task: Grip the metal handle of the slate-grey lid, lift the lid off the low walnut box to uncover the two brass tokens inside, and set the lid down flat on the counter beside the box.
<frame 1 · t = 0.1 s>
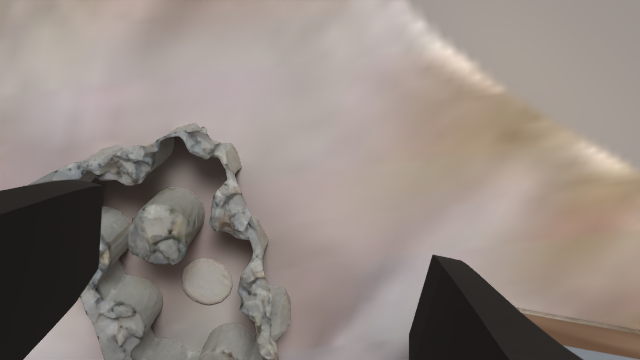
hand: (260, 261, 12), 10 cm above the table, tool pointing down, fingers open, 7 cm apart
egg carton: (192, 244, 23), on the table
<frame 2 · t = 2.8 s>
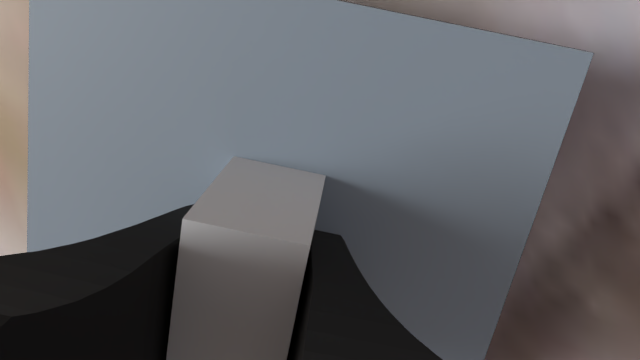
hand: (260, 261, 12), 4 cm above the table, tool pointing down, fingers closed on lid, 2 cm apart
lid: (269, 237, 13), point 3 cm above the table, touching box, gripper
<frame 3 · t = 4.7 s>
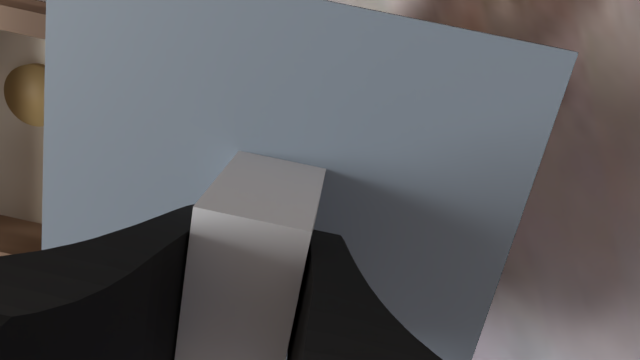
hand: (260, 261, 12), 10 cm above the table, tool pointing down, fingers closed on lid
lid: (272, 228, 13), point 9 cm above the table, touching gripper
box: (87, 137, 22), on the table
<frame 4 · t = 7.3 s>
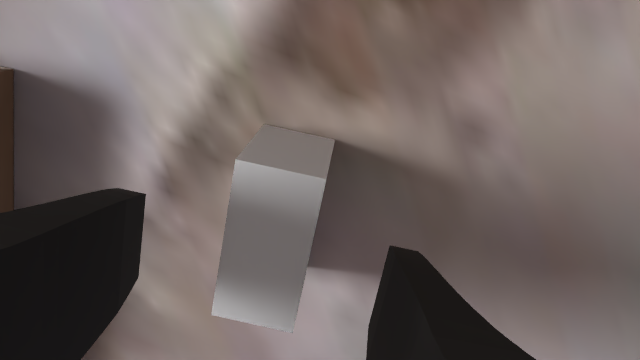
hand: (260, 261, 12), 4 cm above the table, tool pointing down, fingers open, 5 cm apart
lid: (289, 190, 16), on the table
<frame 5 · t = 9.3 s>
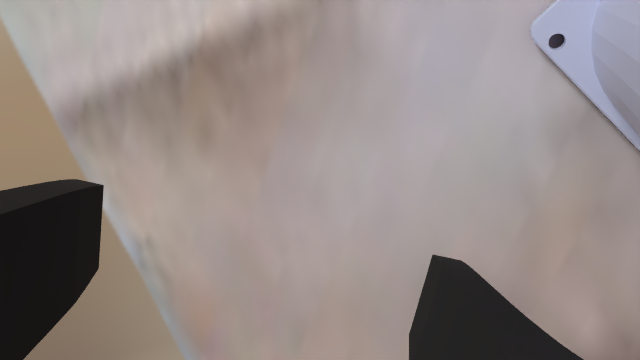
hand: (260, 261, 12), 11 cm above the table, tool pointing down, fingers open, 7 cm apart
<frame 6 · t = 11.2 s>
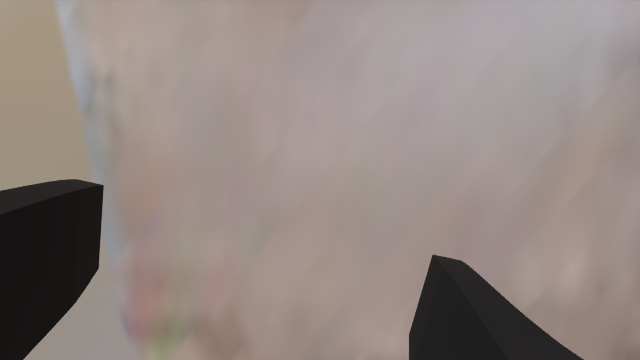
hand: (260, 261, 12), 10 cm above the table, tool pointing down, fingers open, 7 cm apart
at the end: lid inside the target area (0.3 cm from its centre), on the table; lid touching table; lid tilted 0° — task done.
